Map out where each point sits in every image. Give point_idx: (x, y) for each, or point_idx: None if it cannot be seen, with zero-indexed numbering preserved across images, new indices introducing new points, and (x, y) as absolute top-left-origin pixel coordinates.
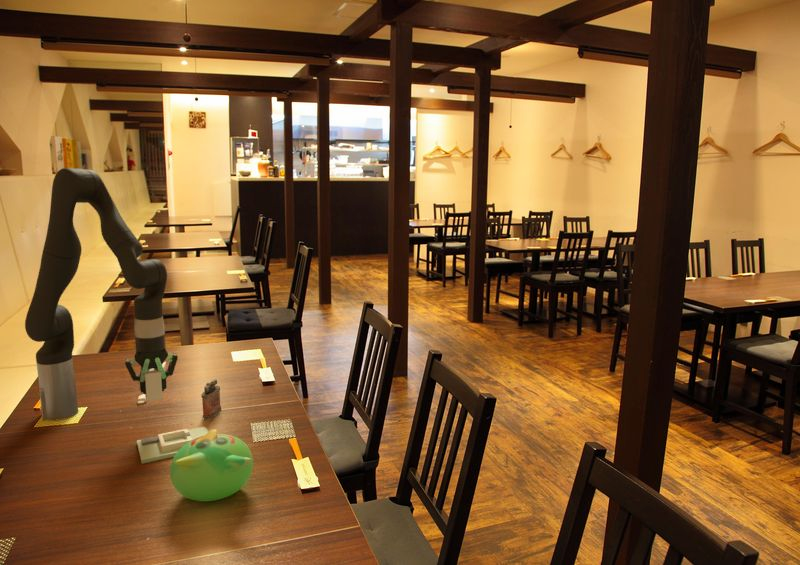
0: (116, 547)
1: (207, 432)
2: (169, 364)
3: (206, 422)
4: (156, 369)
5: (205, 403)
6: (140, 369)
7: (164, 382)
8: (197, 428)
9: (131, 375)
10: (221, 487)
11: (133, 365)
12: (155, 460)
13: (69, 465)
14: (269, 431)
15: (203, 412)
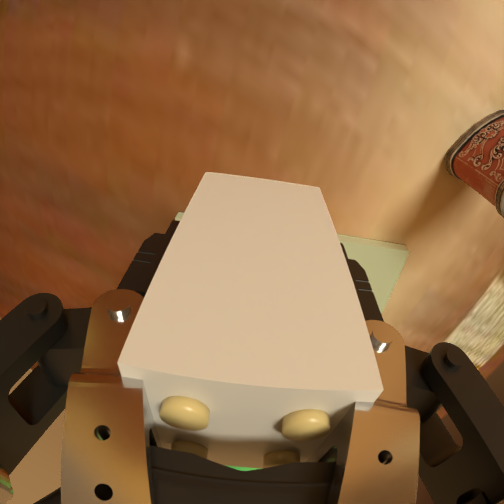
0: None
1: (389, 292)
2: (467, 449)
3: (436, 195)
4: (307, 430)
5: (484, 196)
6: (72, 379)
7: None
8: (384, 252)
9: (29, 400)
10: None
11: (3, 480)
12: None
13: (28, 235)
14: (480, 333)
15: (459, 167)
